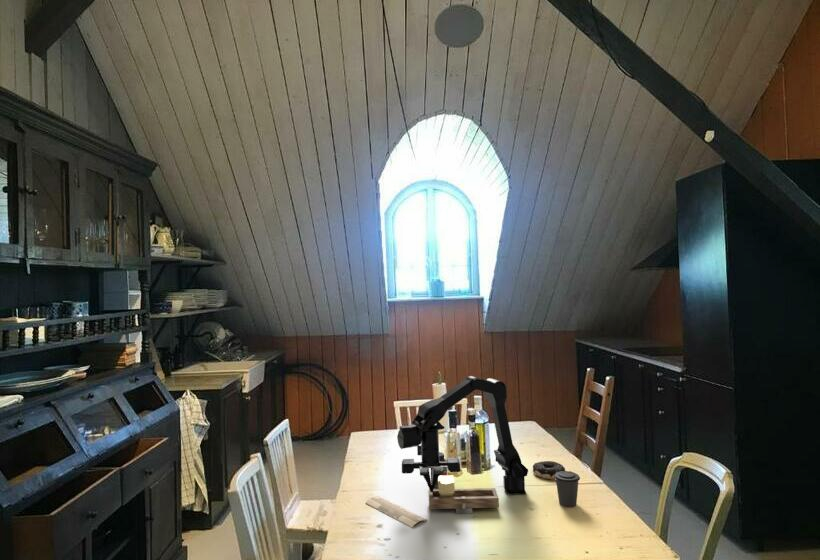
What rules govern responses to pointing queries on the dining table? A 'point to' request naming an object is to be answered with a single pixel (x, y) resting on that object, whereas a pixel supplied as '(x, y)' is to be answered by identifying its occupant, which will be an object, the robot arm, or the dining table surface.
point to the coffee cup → (567, 488)
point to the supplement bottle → (444, 470)
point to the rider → (446, 486)
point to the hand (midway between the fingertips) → (431, 491)
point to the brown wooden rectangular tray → (465, 500)
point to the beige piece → (394, 511)
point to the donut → (547, 469)
